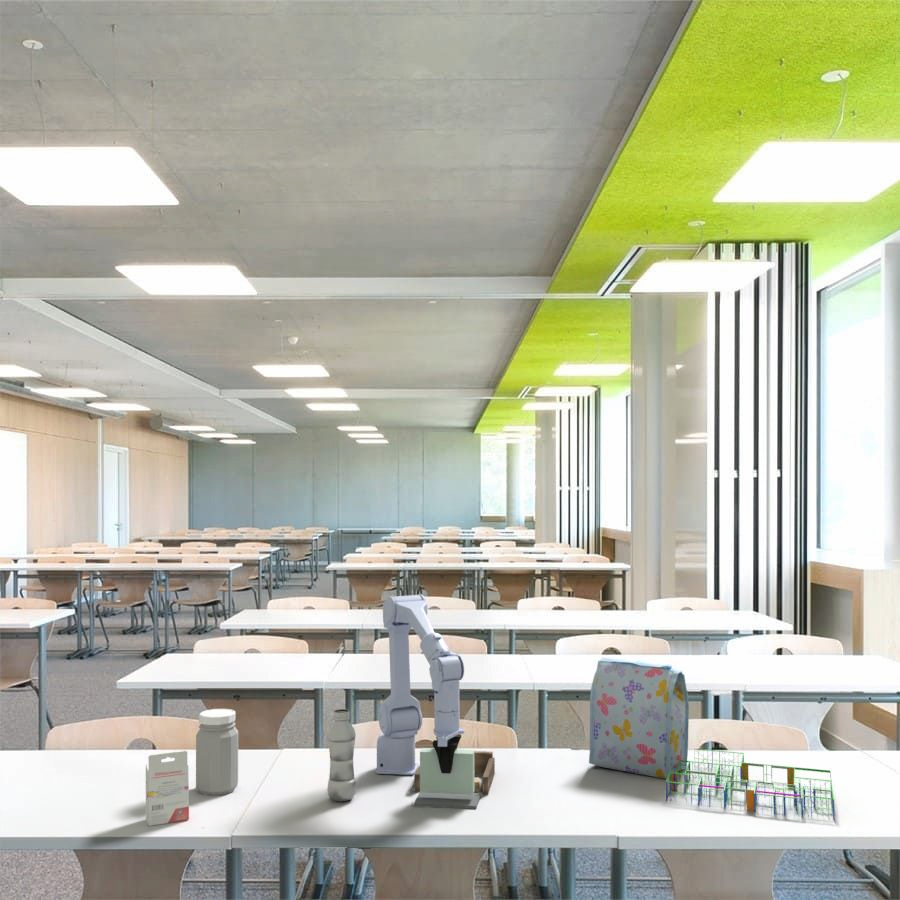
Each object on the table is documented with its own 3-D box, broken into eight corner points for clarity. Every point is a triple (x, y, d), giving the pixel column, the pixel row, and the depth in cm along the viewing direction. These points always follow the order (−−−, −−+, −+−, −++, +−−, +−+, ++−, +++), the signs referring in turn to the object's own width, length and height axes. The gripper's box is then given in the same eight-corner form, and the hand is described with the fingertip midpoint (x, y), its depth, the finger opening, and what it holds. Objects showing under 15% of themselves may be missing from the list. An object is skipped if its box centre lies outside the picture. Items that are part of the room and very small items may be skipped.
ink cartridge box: (186, 813, 202) (186, 745, 203) (189, 820, 198) (189, 750, 199) (144, 818, 199) (145, 749, 200) (147, 826, 195) (147, 755, 195)
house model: (665, 804, 207) (665, 782, 208) (680, 766, 235) (680, 747, 235) (834, 823, 195) (834, 800, 195) (829, 780, 223) (829, 760, 223)
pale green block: (420, 792, 208) (419, 751, 209) (422, 788, 211) (422, 748, 212) (472, 794, 207) (472, 753, 207) (474, 790, 210) (474, 750, 210)
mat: (413, 806, 206) (413, 803, 206) (420, 794, 214) (420, 791, 214) (476, 808, 204) (476, 806, 204) (480, 796, 212) (480, 794, 212)
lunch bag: (695, 765, 234) (693, 659, 236) (674, 783, 220) (672, 671, 221) (611, 752, 246) (610, 652, 247) (586, 769, 232) (585, 662, 233)
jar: (241, 793, 215) (242, 715, 216) (198, 799, 211) (198, 719, 212) (234, 781, 224) (234, 706, 225) (193, 786, 220) (193, 710, 221)
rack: (414, 791, 216) (414, 769, 216) (427, 769, 232) (426, 749, 233) (488, 794, 213) (487, 772, 213) (495, 772, 230) (495, 751, 230)
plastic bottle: (361, 796, 212) (360, 708, 213) (348, 806, 206) (348, 715, 207) (335, 793, 215) (335, 706, 215) (322, 803, 208) (322, 713, 209)
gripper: (460, 718, 202) (460, 781, 201) (468, 702, 216) (469, 761, 216) (428, 717, 203) (428, 779, 202) (438, 701, 217) (439, 760, 217)
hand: (447, 770), depth 209 cm, fingers closed on pale green block, 3 cm apart
